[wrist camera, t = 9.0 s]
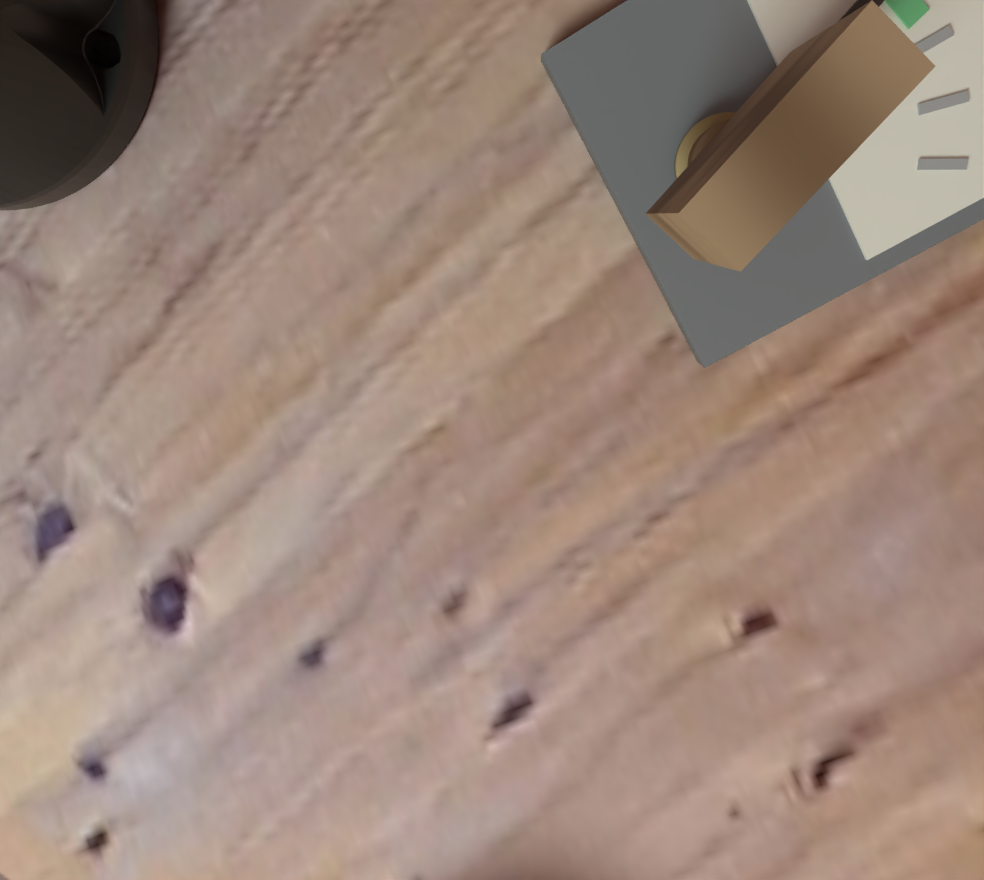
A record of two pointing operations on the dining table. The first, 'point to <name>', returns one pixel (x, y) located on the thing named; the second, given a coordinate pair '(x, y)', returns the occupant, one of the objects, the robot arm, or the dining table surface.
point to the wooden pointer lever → (786, 137)
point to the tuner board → (725, 88)
